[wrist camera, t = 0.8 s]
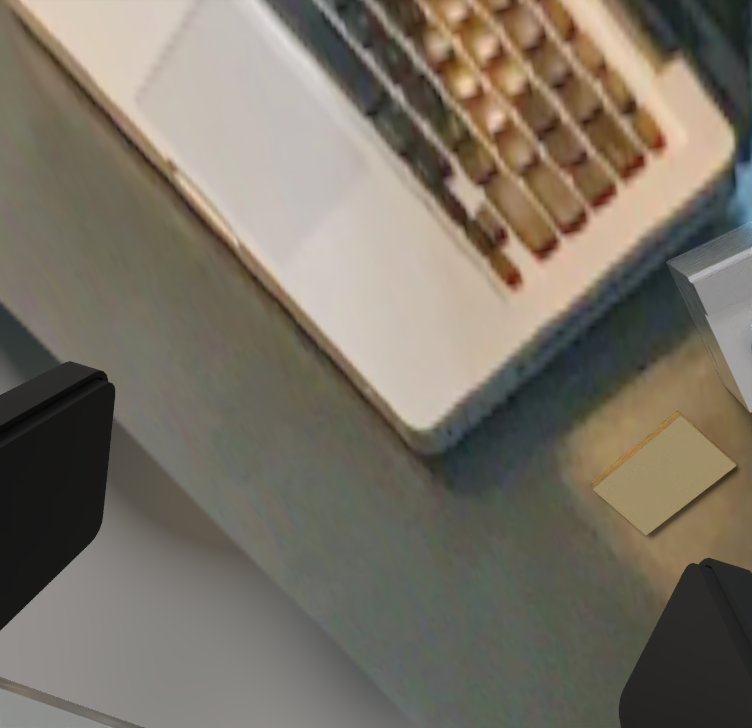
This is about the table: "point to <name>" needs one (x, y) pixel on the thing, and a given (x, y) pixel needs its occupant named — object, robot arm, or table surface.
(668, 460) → the cover plate
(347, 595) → the table surface
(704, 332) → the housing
